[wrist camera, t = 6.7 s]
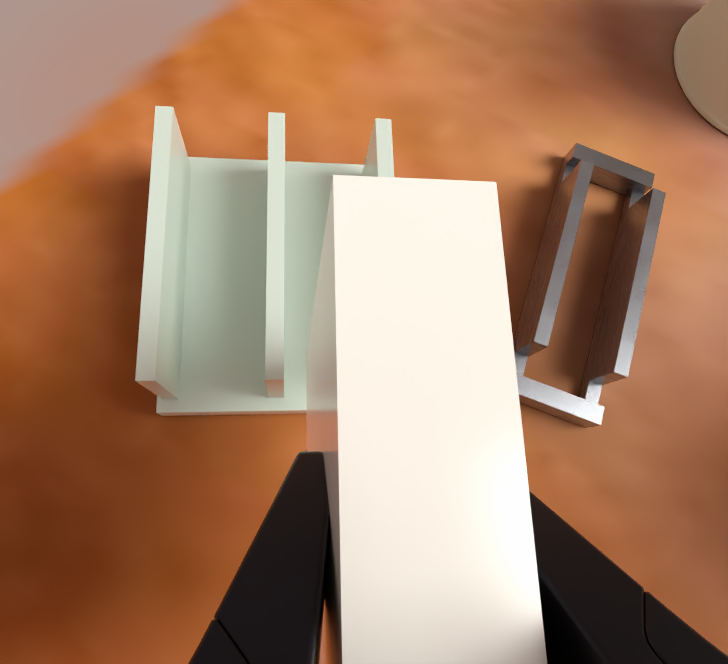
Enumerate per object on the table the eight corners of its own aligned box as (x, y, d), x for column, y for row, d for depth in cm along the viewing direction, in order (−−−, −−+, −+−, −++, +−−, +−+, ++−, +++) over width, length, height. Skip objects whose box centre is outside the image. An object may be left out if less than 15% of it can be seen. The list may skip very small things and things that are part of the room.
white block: (393, 728, 14) (604, 1209, 5) (308, 736, 14) (352, 1266, 5) (378, 352, 17) (496, 181, 7) (306, 352, 17) (333, 174, 7)
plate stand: (585, 427, 24) (618, 421, 22) (498, 394, 24) (522, 384, 22) (639, 186, 28) (672, 159, 26) (564, 157, 28) (590, 126, 25)
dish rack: (385, 411, 23) (411, 393, 18) (161, 415, 22) (127, 396, 17) (375, 177, 26) (395, 108, 21) (176, 168, 25) (150, 93, 20)
